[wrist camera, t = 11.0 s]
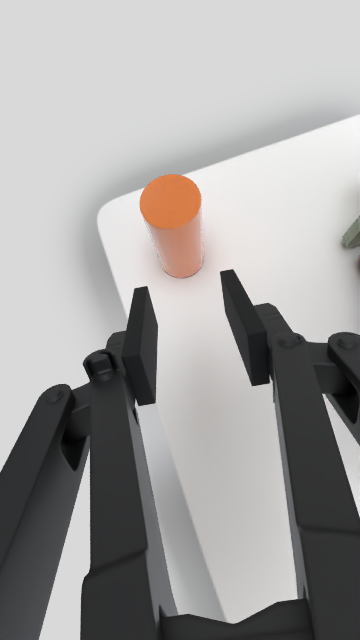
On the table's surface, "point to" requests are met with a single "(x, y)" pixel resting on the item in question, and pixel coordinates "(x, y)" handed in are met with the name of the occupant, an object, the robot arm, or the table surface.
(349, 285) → the table surface
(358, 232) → the drawer
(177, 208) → the canister
